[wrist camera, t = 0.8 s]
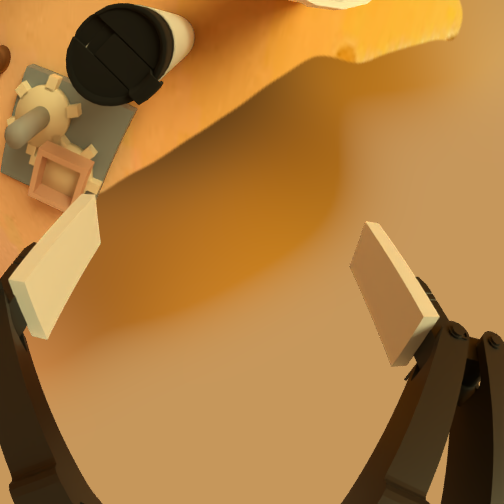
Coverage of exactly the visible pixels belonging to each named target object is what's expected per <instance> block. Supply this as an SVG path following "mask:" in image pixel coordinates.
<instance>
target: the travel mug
mask: <svg viewBox="0 0 504 504" xmlns="http://www.w3.org/2000/svg"><path fill="white" fill-rule="evenodd" d="M194 41H195V33H194V29H193V27H192V25H191V24H190V22H189V21H188V20H186V19H185V18H184V17H182V16H180V15H177V14H173V13H170V12H166V11H162V10H159V9H155V8H151V7H147V6H142V5H134V4H129V3H118V4H113V5H108V6H106V7H104V8H103V9H101V10H99V11H97V12H96V13H95V14H93V15H90V16H89V17H88V18H87V19H86V20H85V21H84V22H83V23H82V24H81V25H80V27H79V28H78V29H77V31H76V34H75V37H73V38H72V40H71V42H70V45H69V47H68V49H67V55H66V69H67V73H68V77H69V79H70V82H71V84H72V86H73V87H74V88H75V90H76V91H77V92H78V94H80V95H81V96H82V97H83V98H84V99H86V100H88V101H90V102H92V103H94V104H97V105H101V106H119V105H123V104H126V103H129V102H131V101H135V102H136V103H137V104H139V105H140V104H142V103H143V102H145V101H146V100H148V99H149V98H150V97H151V96H152V95H154V94H155V93H156V92H157V91H158V90H159V89H160V88H161V86H162V84H163V82H162V81H161V82H159V81H160V80H161V79H162V78H163V77H164V76H165V75H166V74H167V73H168V72H169V71H170V70H171V69H172V68H173V67H175V66H176V65H177V64H178V63H179V62H180V61H181V60H182V59H183V58H185V57H186V56H187V55H188V54H189V52H190V51H191V49H192V47H193V45H194Z"/></svg>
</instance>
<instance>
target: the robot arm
mask: <svg viewBox="0 0 504 504" xmlns="http://www.w3.org/2000/svg"><path fill="white" fill-rule="evenodd" d="M100 244H101V241H100V235H99V226H98V217H97V208H96V197H95V194H81V195H80V196H79V197H78V198H77V199H76V200H75V201H74V202H73V203H72V204H71V205H70V206H69V208H68V209H67V210H66V211H65V212H64V213H63V214H62V215H61V216H60V217H59V218H58V219H57V221H56V222H55V223H54V224H53V225H52V226H51V227H50V228H49V230H48V231H47V232H46V233H45V234H44V235H43V236H42V238H41V239H40V240H39V241H38V242H37V243H35V242H33V243H32V244H30V245H29V246H27V247H26V248H24V250H23V251H22V252H21V253H20V254H19V256H18V258H16V259H15V261H14V262H13V264H11V266H10V267H9V268H8V269H7V271H6V272H5V273H4V274H3V276H2V277H1V278H0V445H1V448H2V451H3V454H4V457H5V460H6V463H7V465H8V468H9V470H10V473H11V476H12V482H11V483H10V484H9V491H10V494H11V497H12V499H13V502H14V504H102V503H101V501H100V500H99V499H98V498H97V497H96V495H95V494H94V493H93V492H92V490H91V489H90V487H89V486H88V484H87V483H86V481H85V479H84V477H83V476H82V474H81V472H80V470H79V468H78V467H77V465H76V463H75V461H74V459H73V457H72V455H71V454H70V451H69V449H68V448H67V445H66V444H65V441H64V439H63V437H62V435H61V433H60V431H59V429H58V427H57V424H56V422H55V420H54V417H53V415H52V413H51V411H50V408H49V405H48V403H47V401H46V398H45V395H44V393H43V390H42V387H41V385H40V382H39V379H38V376H37V373H36V370H35V367H34V364H33V361H32V358H31V355H30V352H29V348H28V345H27V341H26V338H25V336H24V334H23V331H24V329H25V328H26V326H27V327H28V329H29V331H30V333H31V335H32V336H34V337H38V338H43V339H48V337H49V335H50V333H51V331H52V329H53V327H54V325H55V323H56V321H57V319H58V317H59V315H60V313H61V311H62V310H63V308H64V306H65V304H66V302H67V300H68V298H69V297H70V295H71V293H72V291H73V289H74V287H75V286H76V284H77V282H78V280H79V279H80V277H81V275H82V273H83V272H84V270H85V268H86V266H87V265H88V263H89V262H90V260H91V258H92V257H93V255H94V253H95V252H96V250H97V248H98V247H99V245H100ZM350 268H351V271H352V273H353V275H354V277H355V280H356V281H357V284H358V286H359V289H360V291H361V293H362V295H363V298H364V300H365V302H366V305H367V307H368V309H369V312H370V314H371V317H372V319H373V321H374V324H375V326H376V329H377V331H378V334H379V336H380V339H381V341H382V344H383V346H384V349H385V351H386V354H387V357H388V359H389V362H390V364H391V366H405V365H407V364H408V363H409V361H410V360H411V359H412V357H413V356H414V357H415V359H416V361H417V363H416V365H415V366H414V367H413V369H412V370H411V371H410V373H409V374H408V375H407V376H406V378H405V379H404V380H407V379H408V378H409V379H408V381H407V384H406V386H405V388H404V390H403V393H402V395H401V397H400V399H399V402H398V404H397V406H396V408H395V410H394V412H393V415H392V417H391V419H390V421H389V423H388V425H387V427H386V429H385V431H384V433H383V435H382V436H381V438H380V440H379V442H378V444H377V446H376V448H375V449H374V452H373V453H372V455H371V457H370V458H369V460H368V462H367V464H366V465H365V467H364V469H363V471H362V472H361V474H360V475H359V477H358V479H357V480H356V482H355V484H354V485H353V487H352V488H351V490H350V492H349V493H348V494H347V496H346V497H345V499H344V500H343V502H342V503H341V504H429V502H427V501H426V494H427V492H428V489H429V487H430V484H431V482H432V479H433V477H434V474H435V472H436V469H437V467H438V464H439V461H440V458H441V456H442V453H443V450H444V446H445V443H446V441H447V437H448V434H449V446H448V457H447V466H446V475H445V481H444V488H443V494H442V500H441V504H504V342H503V341H502V339H501V337H500V336H498V335H497V334H495V333H493V332H490V331H487V332H485V333H484V334H483V336H482V337H481V338H480V339H476V338H472V337H469V334H468V332H467V331H466V330H465V328H464V327H463V326H461V325H460V324H459V323H456V322H454V321H449V320H448V318H447V317H446V315H445V313H444V312H443V310H442V308H441V307H440V305H439V304H438V302H437V301H436V299H435V297H434V296H433V294H431V291H430V289H429V288H428V286H427V285H426V284H425V283H424V282H423V281H422V280H421V279H420V278H419V277H415V276H414V274H413V273H412V271H411V270H410V268H409V267H408V265H407V263H406V262H405V260H404V259H403V258H402V256H401V255H400V253H399V252H398V250H397V249H396V247H395V246H394V244H393V243H392V241H391V240H390V239H389V237H388V236H387V235H386V233H385V232H384V230H383V229H382V227H381V226H380V225H379V224H378V223H373V222H365V224H364V227H363V230H362V233H361V236H360V239H359V242H358V245H357V247H356V250H355V253H354V256H353V259H352V261H351V264H350ZM480 381H481V382H480ZM479 382H480V386H479V385H478V383H479Z"/></svg>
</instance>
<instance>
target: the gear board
mask: <svg viewBox="0 0 504 504" xmlns="http://www.w3.org/2000/svg"><path fill="white" fill-rule="evenodd" d="M15 91H16V92H17V94H18V95H17V99H16V102H15V106H14V109H13V113H12V117H10V118H9V119H7V124H8V127H7V128H6V130H5V140H6V143H5V148H4V154H3V159H2V165H1V171H0V172H2V173H4V174H6V175H8V176H10V177H12V178H14V179H16V180H18V181H20V182H22V183H24V184H27V185H29V191H28V196H30V197H32V198H34V199H36V200H38V201H41V202H43V203H45V204H47V205H49V206H51V207H53V208H56V209H58V210H60V211H62V212H65V211H66V210H67V209H68V208H69V206H70V205H71V204H72V203H73V202H74V201H75V200H76V199H77V198H78V197H79V196H80V195H81V194H95V197H96V200H97V197H98V195H99V192H100V190H101V187H102V185H103V182H104V180H105V177H106V175H107V172H108V170H109V168H110V165H111V163H112V161H113V159H114V156H115V154H116V152H117V150H118V147H119V145H120V143H121V141H122V139H123V137H124V135H125V133H126V131H127V128H128V126H129V124H130V122H131V120H132V118H133V116H134V115H135V113H136V111H137V108H135V107H133V106H131V105H128V104H123V105H119V106H101V105H97V104H94V103H92V102H90V101H88V100H86V99H84V98H83V97H82V96H81V95H80V94H78V92H77V91H76V90H75V88H74V87H73V86H72V84H71V82H70V79H69V78H67V77H65V76H63V75H60V74H58V73H55V72H53V71H50V70H48V69H45V68H42V67H40V66H37V65H35V64H32V65H29V66H27V68H26V70H25V73H24V76H23V79H22V82H21V84H20V85H19V86H18V87H17V88H16V89H15Z"/></svg>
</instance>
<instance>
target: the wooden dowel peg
mask: <svg viewBox="0 0 504 504" xmlns="http://www.w3.org/2000/svg"><path fill="white" fill-rule="evenodd" d="M10 58H11V55H10V51H9V49H8V48H7V47H6V46H4V45H0V73H2V72H4V71H5V70H6V69H7V67H8V66H9V63H10Z"/></svg>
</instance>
